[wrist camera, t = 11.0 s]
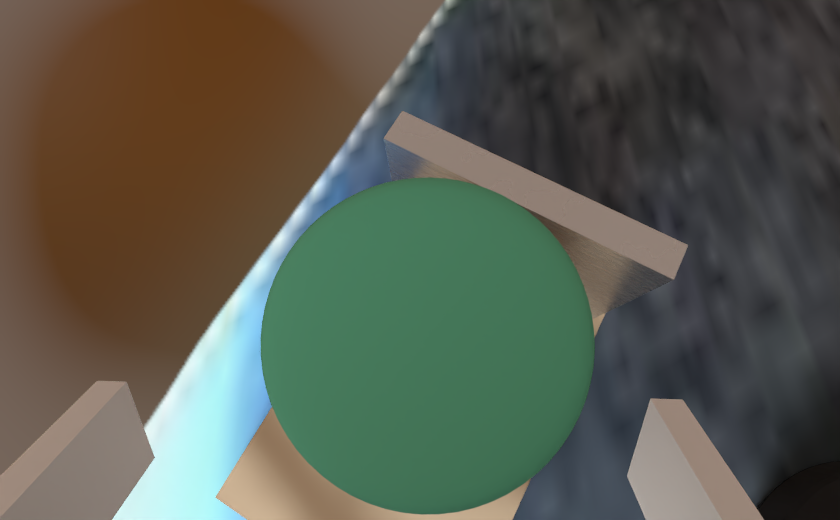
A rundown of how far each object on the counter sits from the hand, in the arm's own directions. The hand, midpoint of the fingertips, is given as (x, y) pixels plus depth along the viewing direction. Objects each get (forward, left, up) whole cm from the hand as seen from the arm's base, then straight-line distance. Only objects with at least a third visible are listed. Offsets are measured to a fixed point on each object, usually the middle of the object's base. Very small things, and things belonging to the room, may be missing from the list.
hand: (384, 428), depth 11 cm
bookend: (-9, -6, -13) cm, 17 cm away
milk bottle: (-2, -1, -14) cm, 14 cm away
